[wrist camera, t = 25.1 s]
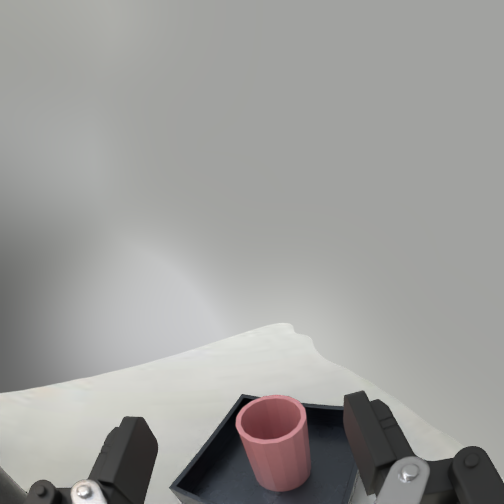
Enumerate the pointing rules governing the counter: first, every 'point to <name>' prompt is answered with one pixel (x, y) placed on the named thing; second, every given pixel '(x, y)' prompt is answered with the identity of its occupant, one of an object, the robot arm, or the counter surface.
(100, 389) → the counter surface
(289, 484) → the cup
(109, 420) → the counter surface
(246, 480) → the dark grey storage tray
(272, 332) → the counter surface
